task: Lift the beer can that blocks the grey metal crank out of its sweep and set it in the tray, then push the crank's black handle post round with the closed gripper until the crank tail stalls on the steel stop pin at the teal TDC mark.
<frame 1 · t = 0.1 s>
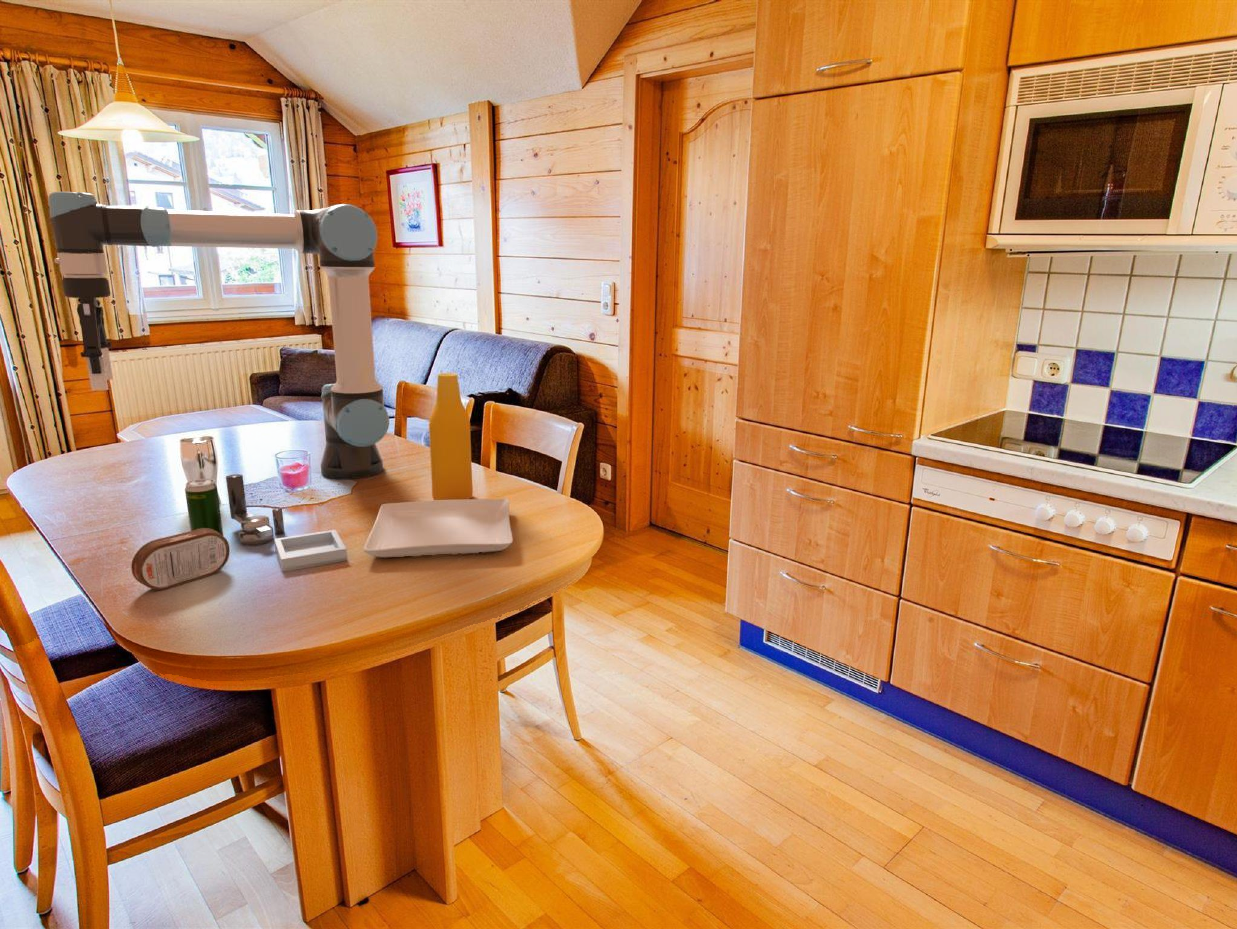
hand: (102, 384, 151), 28 cm above the table, fingers open, 13 cm apart
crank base: (257, 539, 147), on the table
beer can: (208, 542, 146), on the table
square plate: (443, 538, 151), on the table
beer bottle: (452, 499, 174), on the table
beer glass: (205, 505, 167), on the table
tray: (310, 555, 140), on the table
tin: (186, 582, 129), on the table
crank: (248, 504, 147), point 7 cm above the table, hinge at -75.0°
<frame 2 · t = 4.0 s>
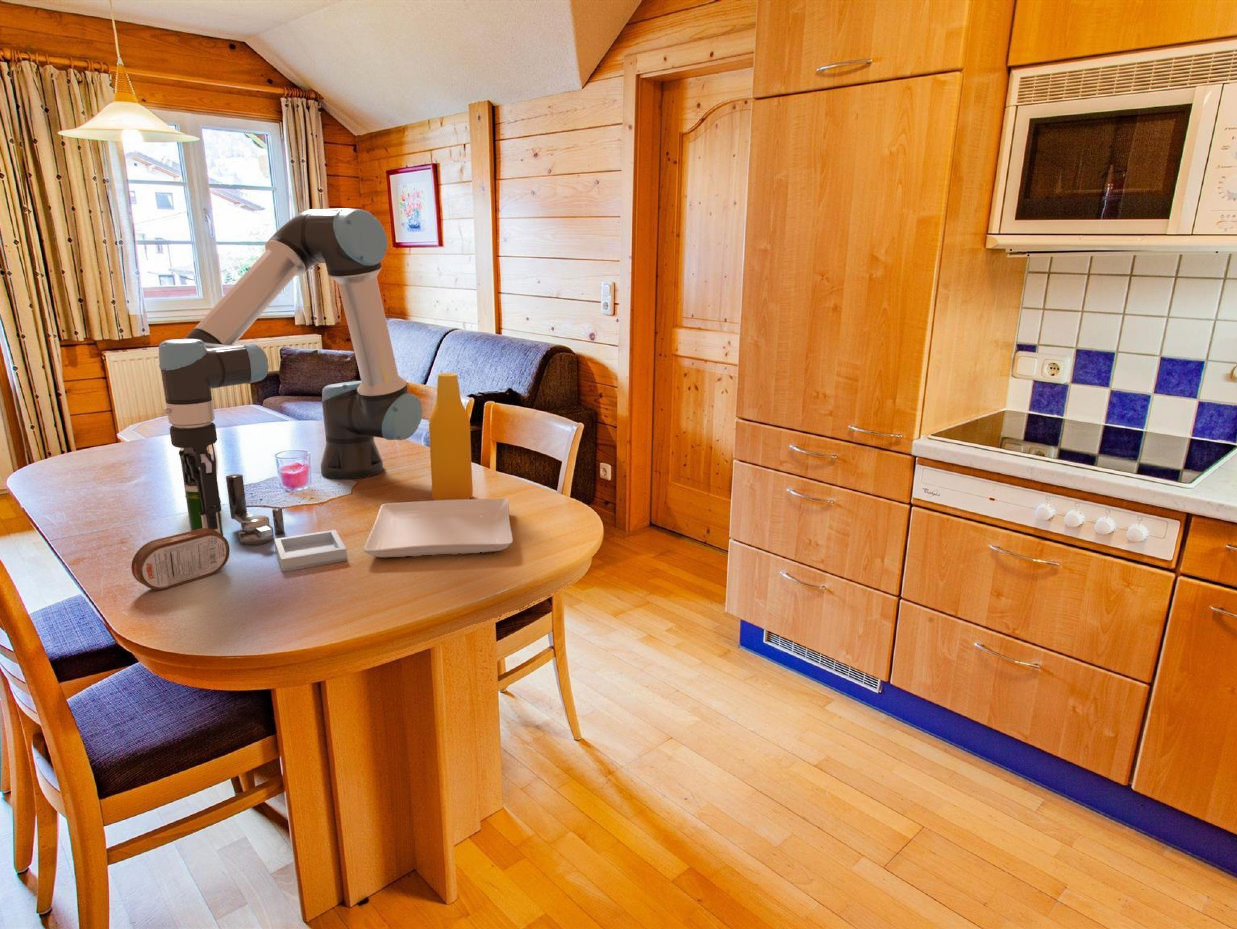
hand: (208, 539, 146), 0 cm above the table, fingers closed on beer can, 5 cm apart
beer can: (208, 542, 146), on the table, touching gripper
everything else where it was.
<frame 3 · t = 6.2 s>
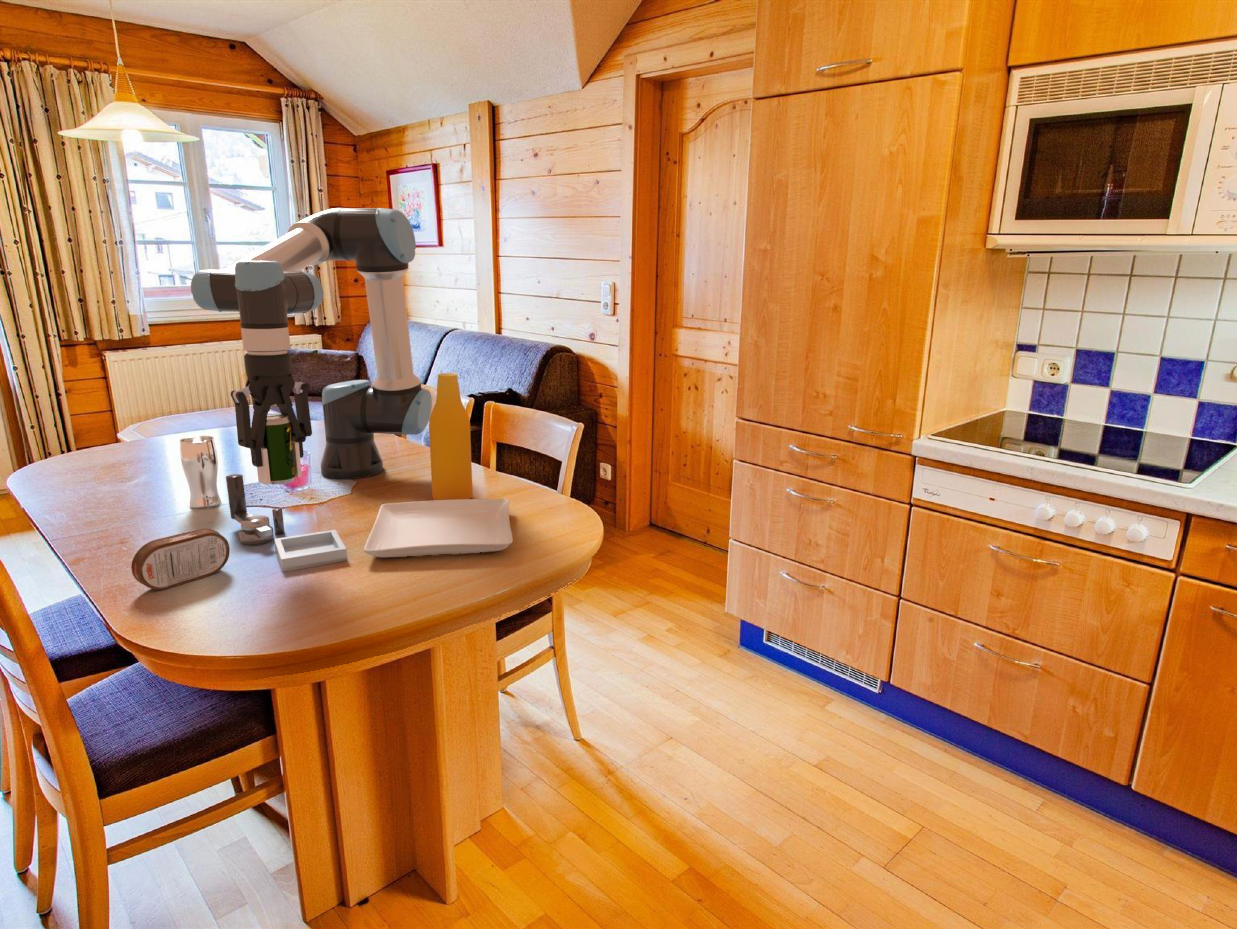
hand: (280, 479, 137), 15 cm above the table, fingers closed on beer can, 5 cm apart
beer can: (280, 481, 137), point 14 cm above the table, touching gripper
everything else where it was.
when the fingers open (3 cm above the table, at t = 8.5 s): beer can drops 2 cm, resting on tray.
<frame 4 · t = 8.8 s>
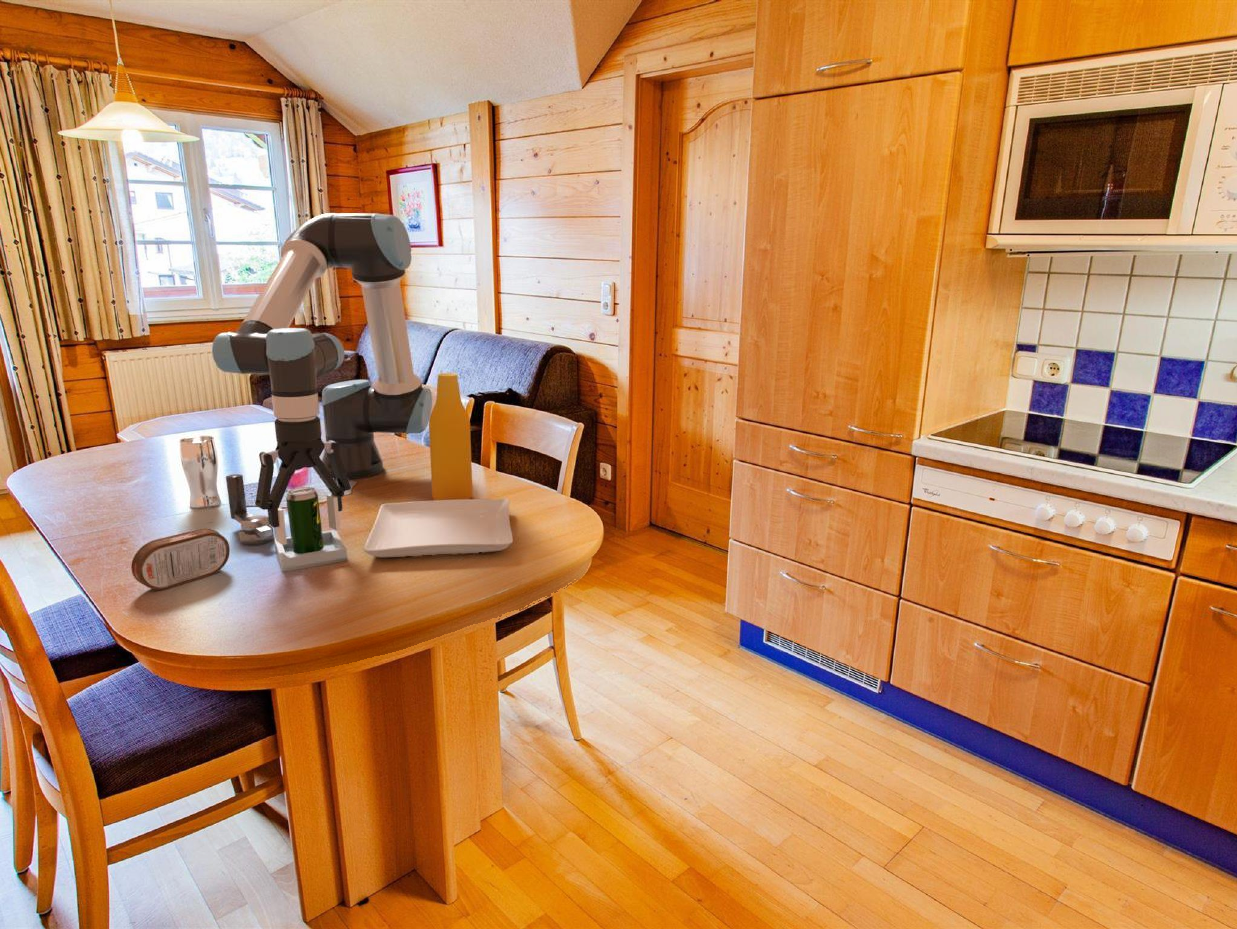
hand: (308, 535, 139), 4 cm above the table, fingers open, 9 cm apart
beer can: (309, 553, 140), resting on tray
everything else where it was.
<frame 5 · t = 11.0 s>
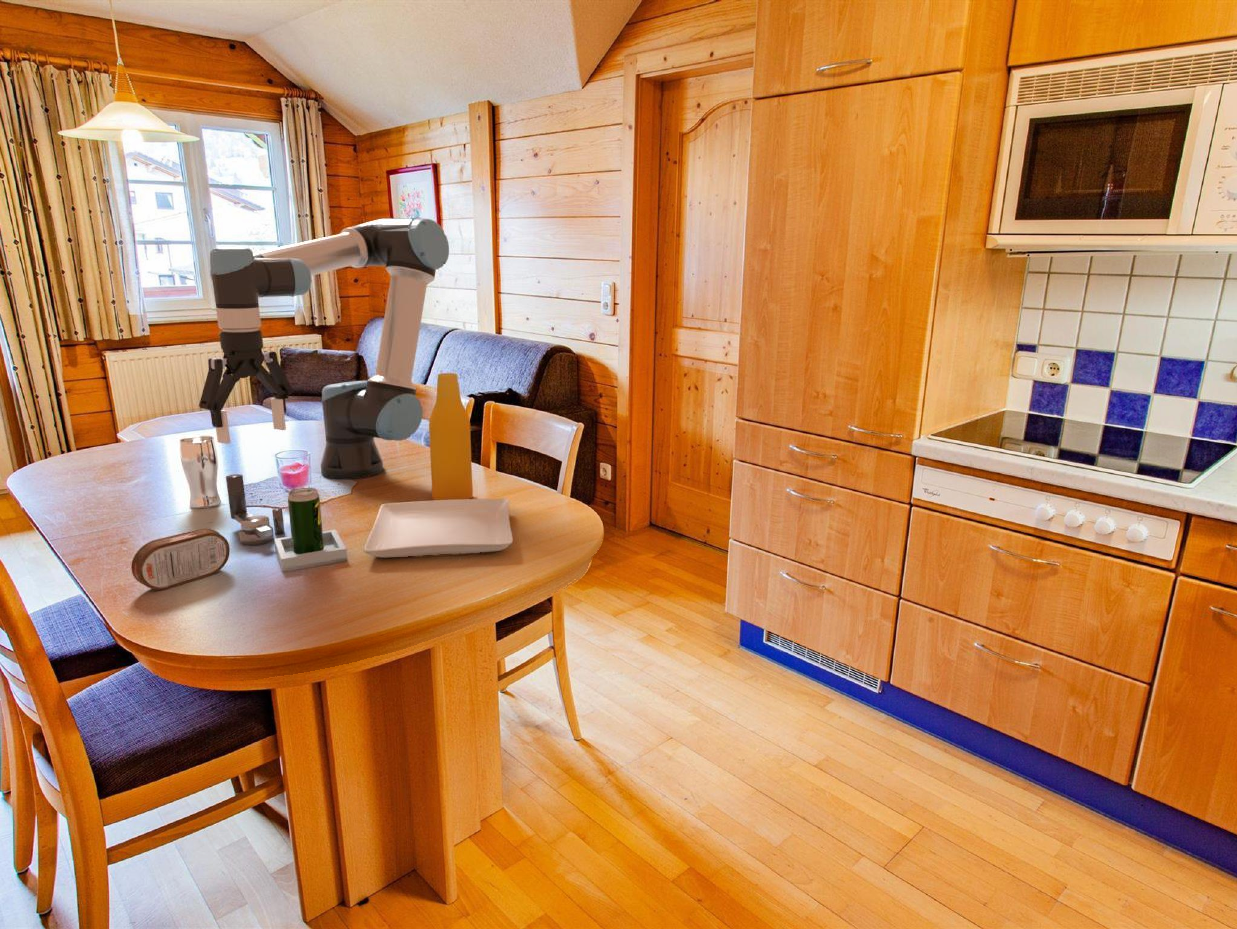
hand: (253, 435, 152), 18 cm above the table, fingers open, 12 cm apart
nothing on the table moved.
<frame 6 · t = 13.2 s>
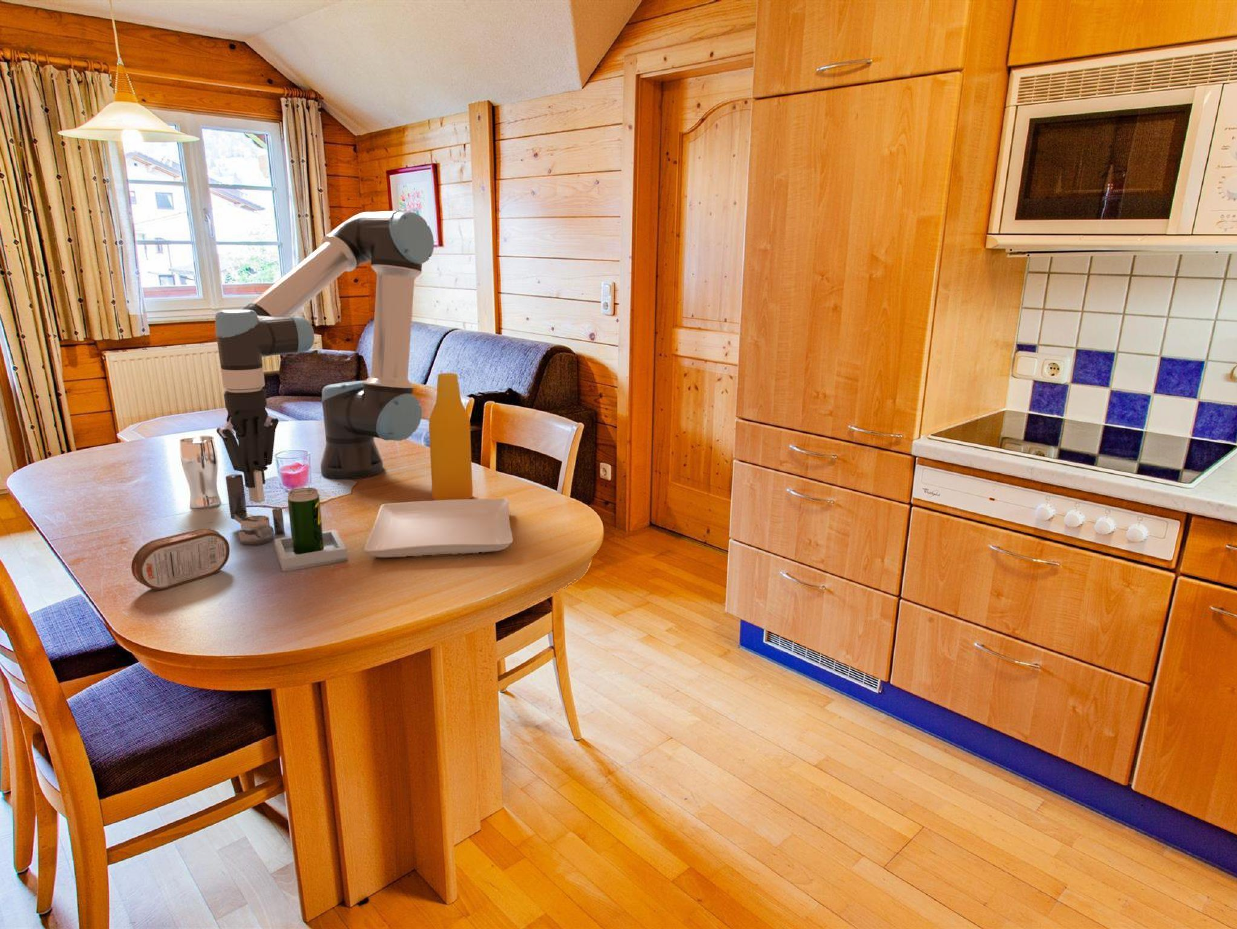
hand: (257, 500, 156), 4 cm above the table, fingers closed
crank: (248, 504, 147), point 7 cm above the table, hinge at -74.7°, touching gripper
everything else where it was.
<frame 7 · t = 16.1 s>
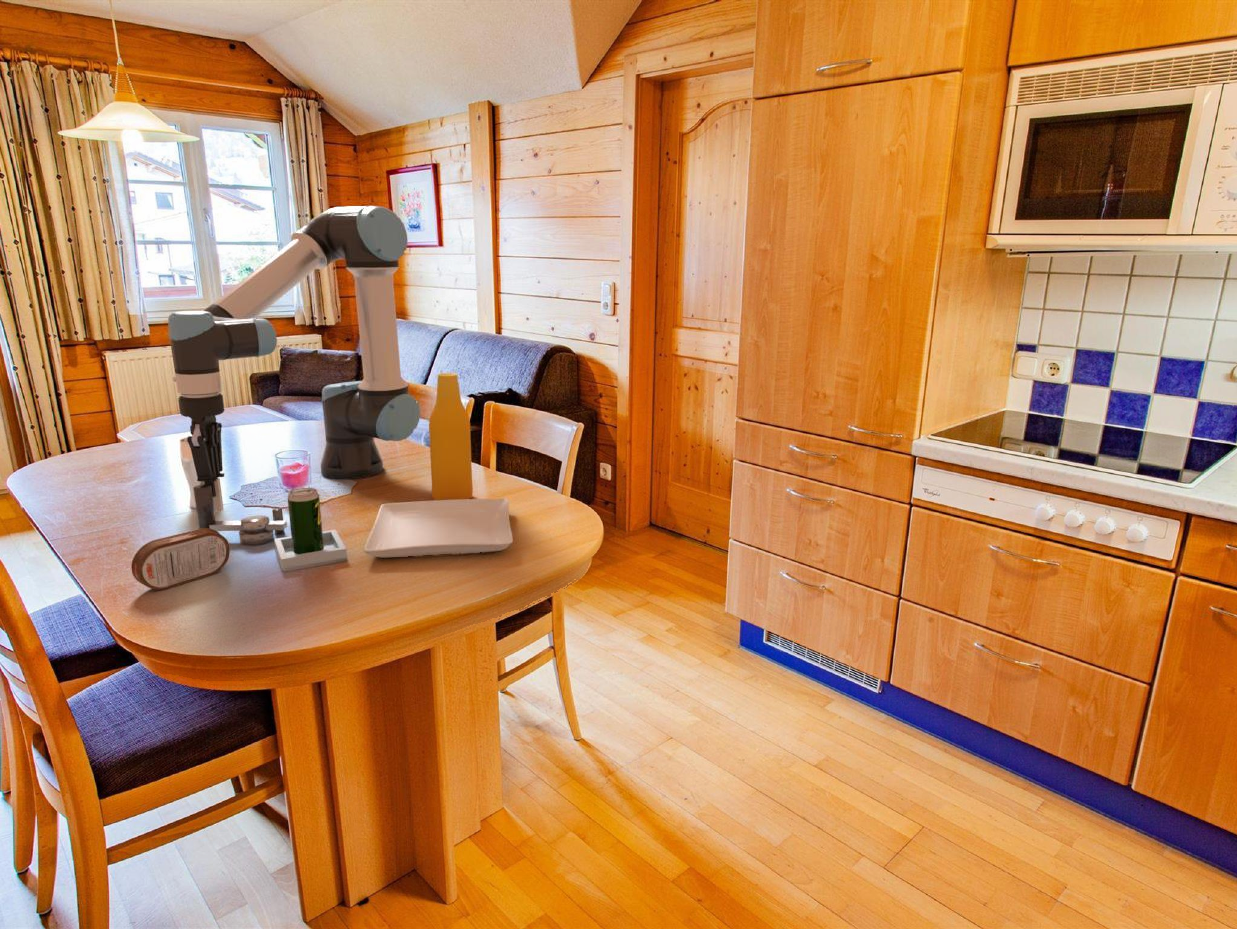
hand: (215, 510, 149), 5 cm above the table, fingers closed
crank: (240, 507, 145), point 7 cm above the table, hinge at -25.3°, touching gripper
everything else where it was.
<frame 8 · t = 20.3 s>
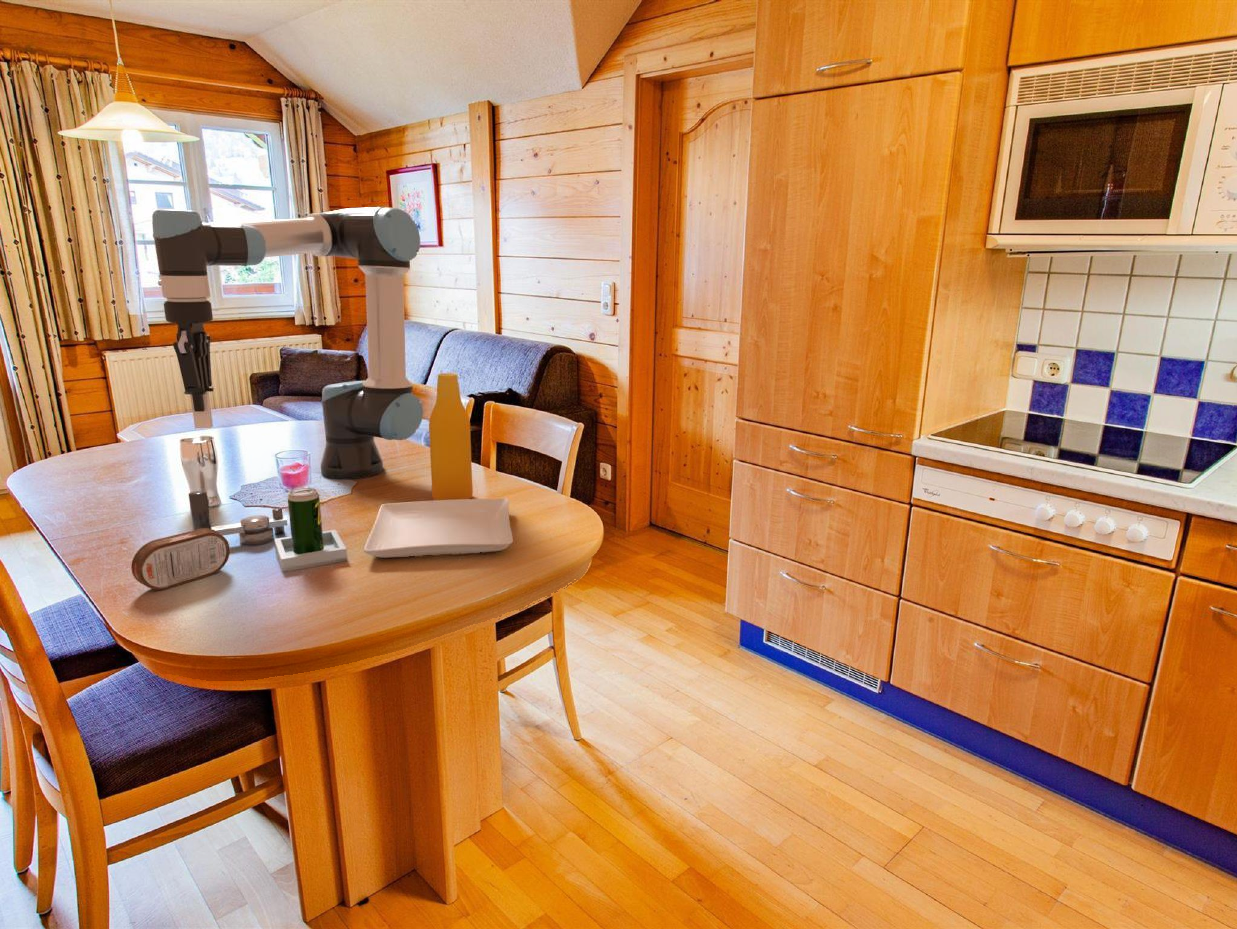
hand: (204, 427, 142), 22 cm above the table, fingers closed
crank: (239, 509, 144), point 7 cm above the table, hinge at 1.3°
everything else where it was.
at the end: crank at +1° (first picture: -75°); beer can inside the target area on the tray (0.3 cm from its centre), point 0.4 cm above the tray's base; beer can tilted 0° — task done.
